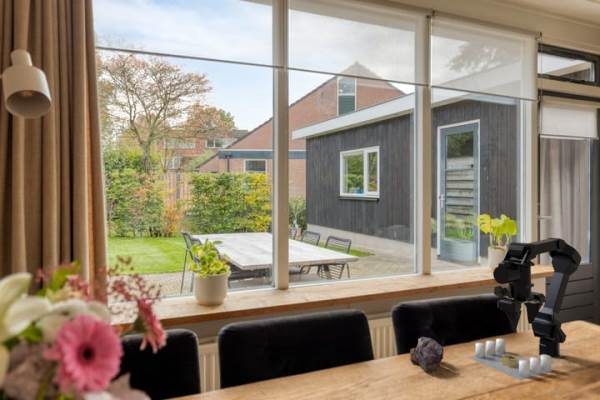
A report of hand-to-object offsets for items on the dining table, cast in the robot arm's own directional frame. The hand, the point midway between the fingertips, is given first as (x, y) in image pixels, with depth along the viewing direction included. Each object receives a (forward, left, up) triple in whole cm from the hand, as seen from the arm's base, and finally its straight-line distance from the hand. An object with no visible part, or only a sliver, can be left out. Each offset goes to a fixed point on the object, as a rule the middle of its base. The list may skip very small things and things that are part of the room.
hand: (522, 326), depth 142 cm
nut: (+6, 0, -12) cm, 13 cm away
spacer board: (+6, 0, -13) cm, 14 cm away
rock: (+30, -12, -13) cm, 35 cm away
